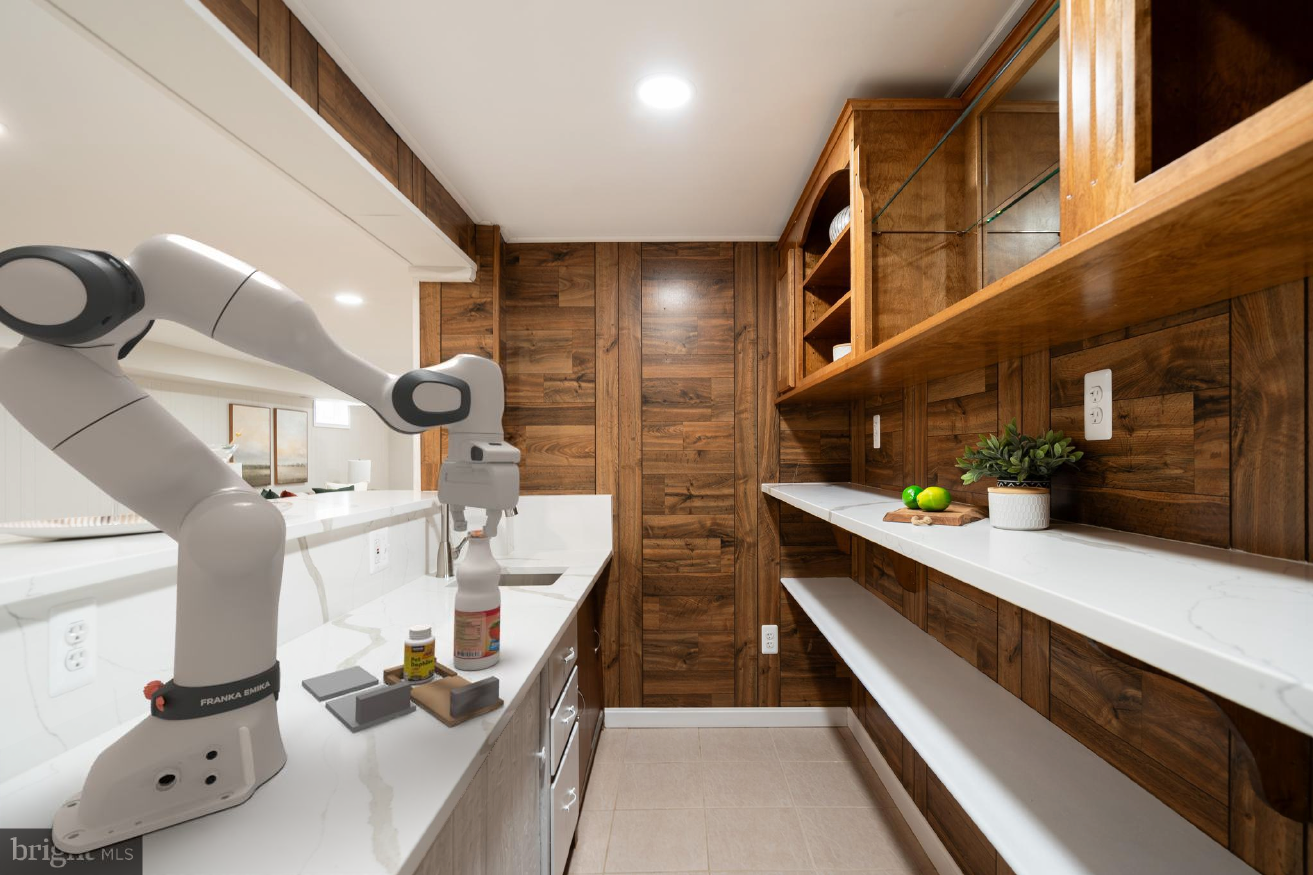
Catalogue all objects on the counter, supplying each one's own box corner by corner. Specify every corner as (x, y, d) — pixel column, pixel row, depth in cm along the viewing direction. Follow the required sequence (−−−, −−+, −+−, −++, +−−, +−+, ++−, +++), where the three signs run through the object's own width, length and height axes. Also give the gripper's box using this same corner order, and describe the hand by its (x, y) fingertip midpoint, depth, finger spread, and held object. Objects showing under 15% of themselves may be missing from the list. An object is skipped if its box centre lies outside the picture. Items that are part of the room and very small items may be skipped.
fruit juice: (451, 658, 114) (454, 529, 116) (495, 651, 118) (498, 527, 120) (455, 674, 106) (458, 535, 107) (503, 666, 110) (505, 532, 111)
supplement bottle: (406, 688, 100) (407, 633, 100) (400, 678, 104) (402, 626, 105) (437, 680, 103) (438, 628, 103) (430, 671, 107) (431, 621, 108)
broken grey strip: (353, 732, 83) (353, 701, 83) (301, 684, 101) (302, 659, 101) (416, 710, 91) (416, 682, 91) (358, 669, 108) (359, 645, 108)
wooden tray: (449, 726, 85) (450, 696, 85) (383, 680, 102) (383, 655, 103) (503, 705, 93) (504, 677, 93) (433, 665, 110) (433, 642, 110)
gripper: (429, 451, 93) (427, 529, 92) (492, 450, 80) (490, 542, 79) (462, 452, 98) (460, 526, 97) (527, 451, 84) (525, 538, 84)
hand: (474, 533), depth 88 cm, fingers open, 8 cm apart
